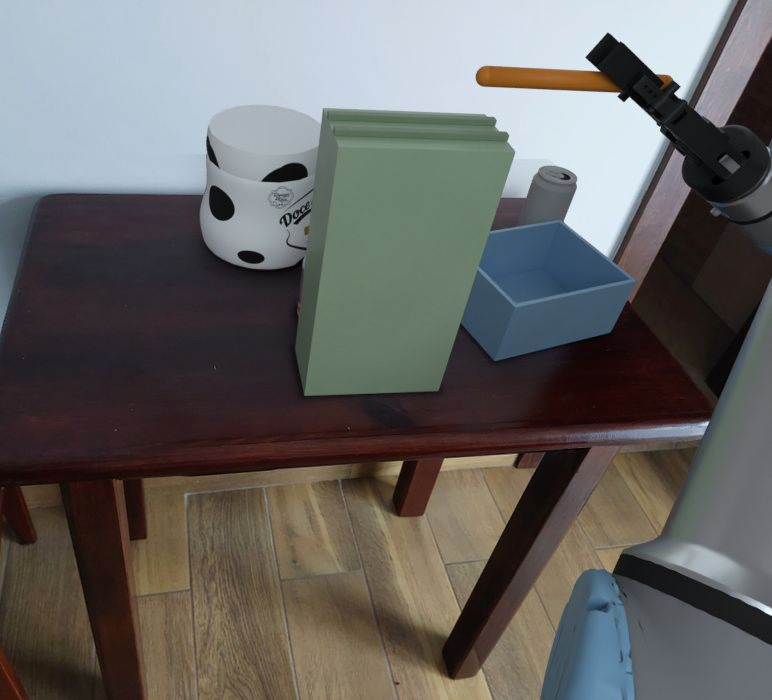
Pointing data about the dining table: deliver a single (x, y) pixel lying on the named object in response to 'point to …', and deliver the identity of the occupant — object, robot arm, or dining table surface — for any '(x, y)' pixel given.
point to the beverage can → (548, 196)
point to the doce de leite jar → (259, 186)
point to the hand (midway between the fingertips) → (604, 51)
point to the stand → (394, 245)
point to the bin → (542, 290)
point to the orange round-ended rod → (550, 79)
